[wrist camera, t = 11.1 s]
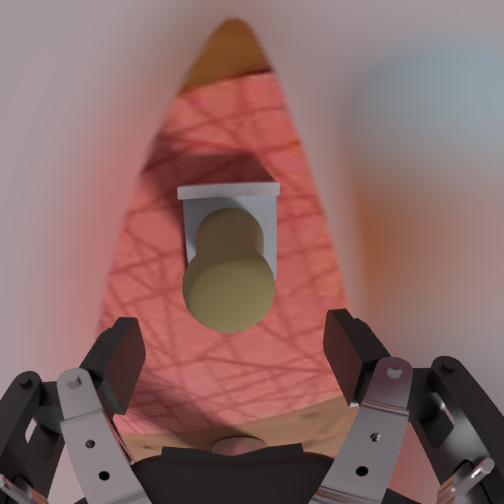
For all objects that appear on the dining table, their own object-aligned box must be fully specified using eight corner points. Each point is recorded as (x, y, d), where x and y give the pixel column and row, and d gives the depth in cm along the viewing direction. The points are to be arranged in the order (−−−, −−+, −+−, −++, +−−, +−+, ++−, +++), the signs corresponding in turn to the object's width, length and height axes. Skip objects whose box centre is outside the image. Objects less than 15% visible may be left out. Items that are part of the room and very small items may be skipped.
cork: (239, 284, 25) (244, 364, 15) (183, 250, 24) (150, 315, 14) (277, 232, 24) (311, 286, 14) (220, 193, 23) (208, 220, 12)
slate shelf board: (275, 276, 26) (276, 279, 26) (191, 280, 26) (190, 283, 25) (275, 191, 24) (276, 192, 23) (183, 195, 23) (182, 196, 23)
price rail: (275, 191, 24) (280, 195, 21) (183, 195, 23) (177, 199, 21) (275, 180, 23) (279, 182, 21) (182, 184, 23) (177, 187, 20)
